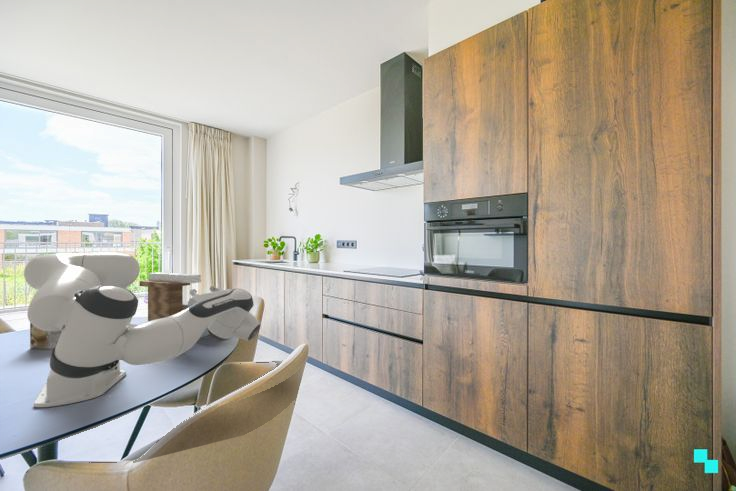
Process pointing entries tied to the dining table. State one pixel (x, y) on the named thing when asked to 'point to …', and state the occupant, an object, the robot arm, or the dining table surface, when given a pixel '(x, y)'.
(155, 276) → the aluminium bar
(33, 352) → the dining table surface
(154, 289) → the walnut stand
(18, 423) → the dining table surface
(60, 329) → the robot arm
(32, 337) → the coffee box
